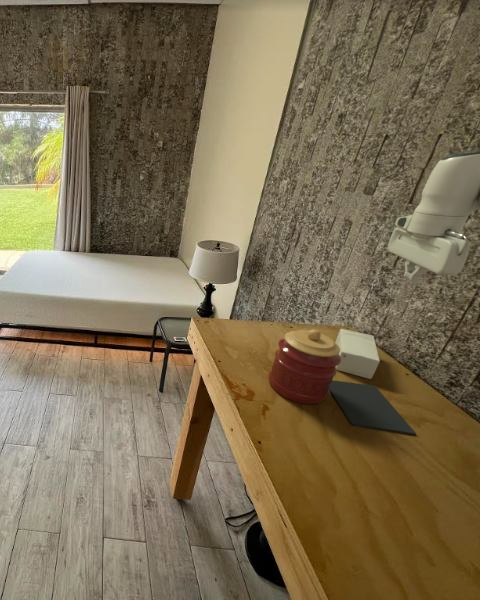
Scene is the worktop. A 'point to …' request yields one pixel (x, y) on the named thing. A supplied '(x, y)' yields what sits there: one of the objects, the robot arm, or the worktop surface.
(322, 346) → the kitchen canister
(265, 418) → the worktop surface
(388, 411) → the felt mat
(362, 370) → the cosmetic box
